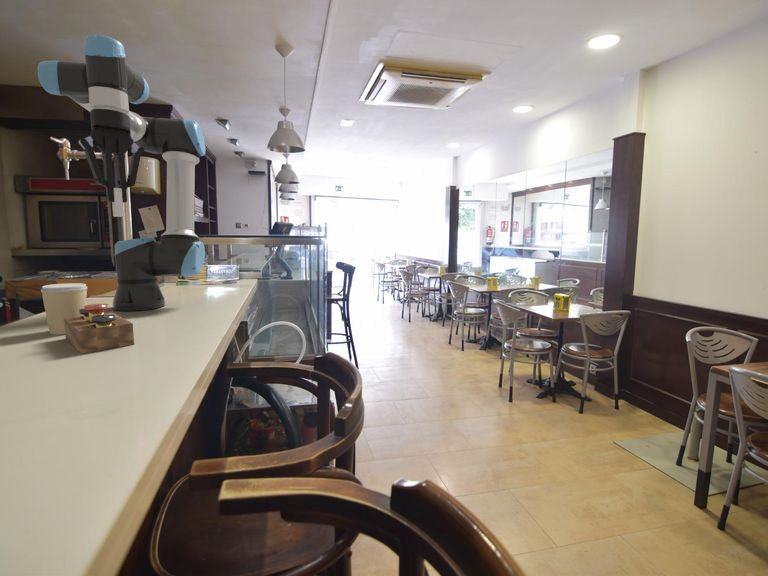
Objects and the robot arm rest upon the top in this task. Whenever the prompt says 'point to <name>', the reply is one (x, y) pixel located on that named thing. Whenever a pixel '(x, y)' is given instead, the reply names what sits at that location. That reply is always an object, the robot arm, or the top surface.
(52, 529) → the top surface
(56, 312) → the coffee cup
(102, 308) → the plunger red
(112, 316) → the plunger
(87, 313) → the plunger
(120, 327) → the walnut block
